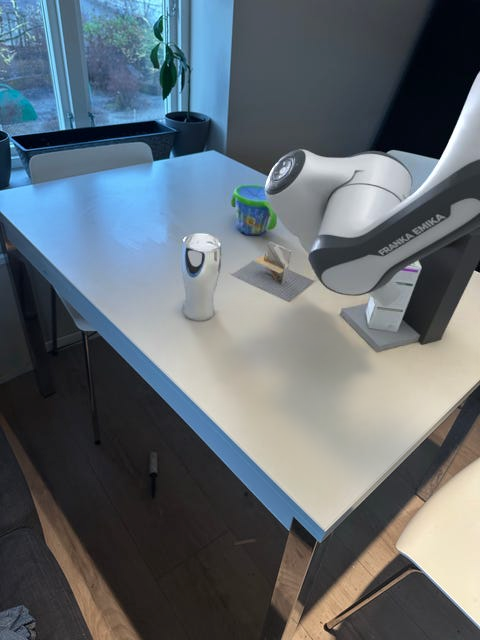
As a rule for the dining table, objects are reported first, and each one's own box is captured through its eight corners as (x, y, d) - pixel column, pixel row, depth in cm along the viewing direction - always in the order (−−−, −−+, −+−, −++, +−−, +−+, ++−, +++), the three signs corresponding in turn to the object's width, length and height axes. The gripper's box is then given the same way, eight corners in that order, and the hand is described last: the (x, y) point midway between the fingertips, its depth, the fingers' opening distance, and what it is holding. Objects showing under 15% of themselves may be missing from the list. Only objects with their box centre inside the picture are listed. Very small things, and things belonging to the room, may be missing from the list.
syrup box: (397, 333, 84) (424, 267, 76) (366, 328, 85) (389, 262, 76) (392, 315, 89) (417, 251, 80) (363, 311, 89) (384, 246, 80)
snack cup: (284, 239, 114) (291, 201, 108) (250, 246, 109) (255, 207, 103) (251, 214, 124) (256, 178, 118) (218, 220, 119) (221, 183, 113)
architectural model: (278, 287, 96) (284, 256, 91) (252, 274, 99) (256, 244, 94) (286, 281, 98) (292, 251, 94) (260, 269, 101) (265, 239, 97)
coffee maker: (380, 355, 81) (434, 217, 65) (336, 311, 91) (374, 181, 74) (440, 339, 87) (504, 208, 70) (394, 299, 96) (440, 176, 80)
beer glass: (194, 327, 82) (198, 255, 73) (173, 308, 86) (174, 238, 77) (224, 314, 86) (231, 245, 77) (202, 297, 90) (206, 229, 81)
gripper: (393, 257, 61) (422, 304, 71) (315, 198, 75) (348, 243, 85) (358, 289, 62) (391, 331, 72) (287, 225, 76) (323, 267, 86)
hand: (367, 283), depth 78 cm, fingers open, 8 cm apart
